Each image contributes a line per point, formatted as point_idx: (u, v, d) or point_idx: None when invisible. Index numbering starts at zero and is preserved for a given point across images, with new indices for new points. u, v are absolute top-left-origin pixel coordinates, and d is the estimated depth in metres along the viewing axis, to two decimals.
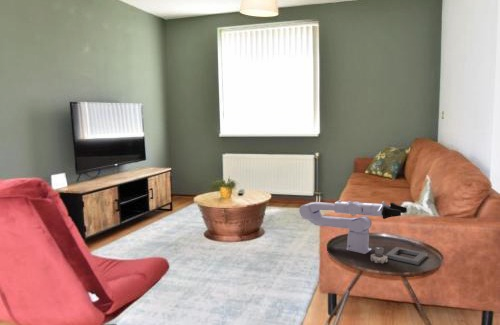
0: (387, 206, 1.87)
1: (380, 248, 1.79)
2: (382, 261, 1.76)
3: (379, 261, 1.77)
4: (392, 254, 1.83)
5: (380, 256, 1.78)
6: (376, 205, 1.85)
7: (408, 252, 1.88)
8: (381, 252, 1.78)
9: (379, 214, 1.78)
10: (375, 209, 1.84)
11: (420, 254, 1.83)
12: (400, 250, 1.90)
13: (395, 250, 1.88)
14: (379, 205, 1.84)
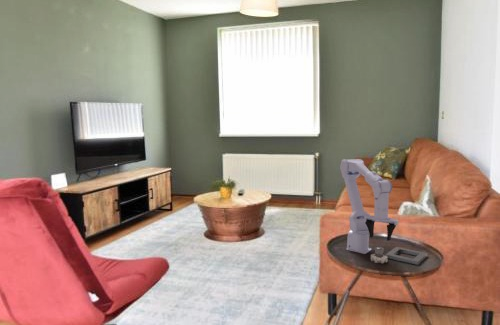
0: (388, 221, 1.74)
1: (380, 248, 1.79)
2: (382, 261, 1.76)
3: (379, 261, 1.77)
4: (392, 254, 1.83)
5: (380, 256, 1.78)
6: (375, 213, 1.76)
7: (408, 252, 1.88)
8: (381, 252, 1.78)
9: None
10: (374, 211, 1.78)
11: (420, 254, 1.83)
12: (400, 250, 1.90)
13: (395, 250, 1.88)
14: (375, 216, 1.76)
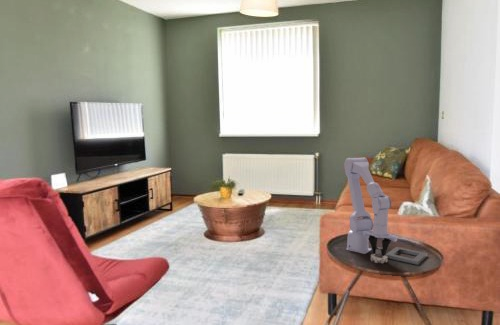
0: (387, 237, 1.75)
1: (380, 248, 1.79)
2: (382, 261, 1.76)
3: (379, 261, 1.77)
4: (392, 254, 1.83)
5: (380, 256, 1.78)
6: (374, 229, 1.77)
7: (408, 252, 1.88)
8: (381, 252, 1.78)
9: None
10: None
11: (420, 254, 1.83)
12: (400, 250, 1.90)
13: (395, 250, 1.88)
14: (374, 232, 1.77)
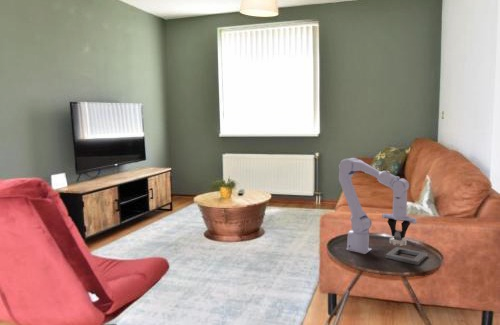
0: (406, 219, 1.77)
1: (399, 231, 1.81)
2: (401, 243, 1.78)
3: (398, 243, 1.79)
4: (392, 254, 1.83)
5: (399, 239, 1.79)
6: (394, 211, 1.79)
7: (408, 252, 1.88)
8: (400, 235, 1.79)
9: None
10: None
11: (420, 254, 1.83)
12: (400, 250, 1.90)
13: (395, 250, 1.88)
14: (394, 214, 1.79)
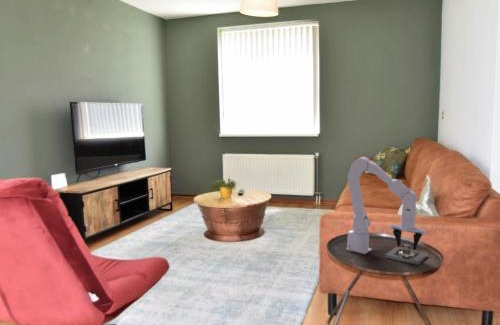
0: None
1: (407, 245, 1.83)
2: None
3: None
4: (392, 254, 1.83)
5: (407, 253, 1.82)
6: (402, 223, 1.81)
7: None
8: (408, 249, 1.82)
9: None
10: (401, 221, 1.83)
11: (420, 254, 1.83)
12: (400, 250, 1.90)
13: (395, 250, 1.88)
14: (402, 226, 1.81)
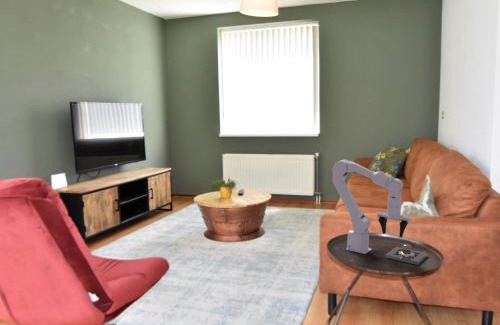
0: (400, 218, 1.81)
1: (407, 245, 1.83)
2: None
3: None
4: (392, 254, 1.83)
5: (407, 253, 1.82)
6: (388, 210, 1.83)
7: None
8: (408, 249, 1.82)
9: None
10: (387, 209, 1.85)
11: (420, 254, 1.83)
12: (400, 250, 1.90)
13: (395, 250, 1.88)
14: (388, 213, 1.83)
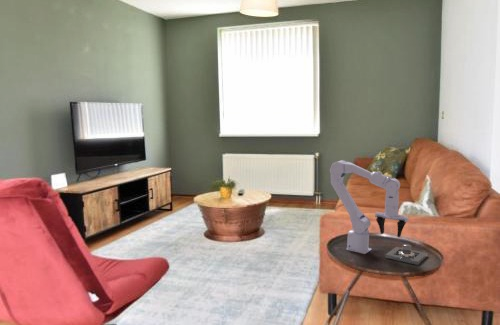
0: (398, 218, 1.82)
1: (407, 245, 1.83)
2: None
3: None
4: (392, 254, 1.83)
5: (407, 253, 1.82)
6: (386, 210, 1.84)
7: None
8: (408, 249, 1.82)
9: None
10: (385, 209, 1.85)
11: (420, 254, 1.83)
12: (400, 250, 1.90)
13: (395, 250, 1.88)
14: (386, 213, 1.84)
